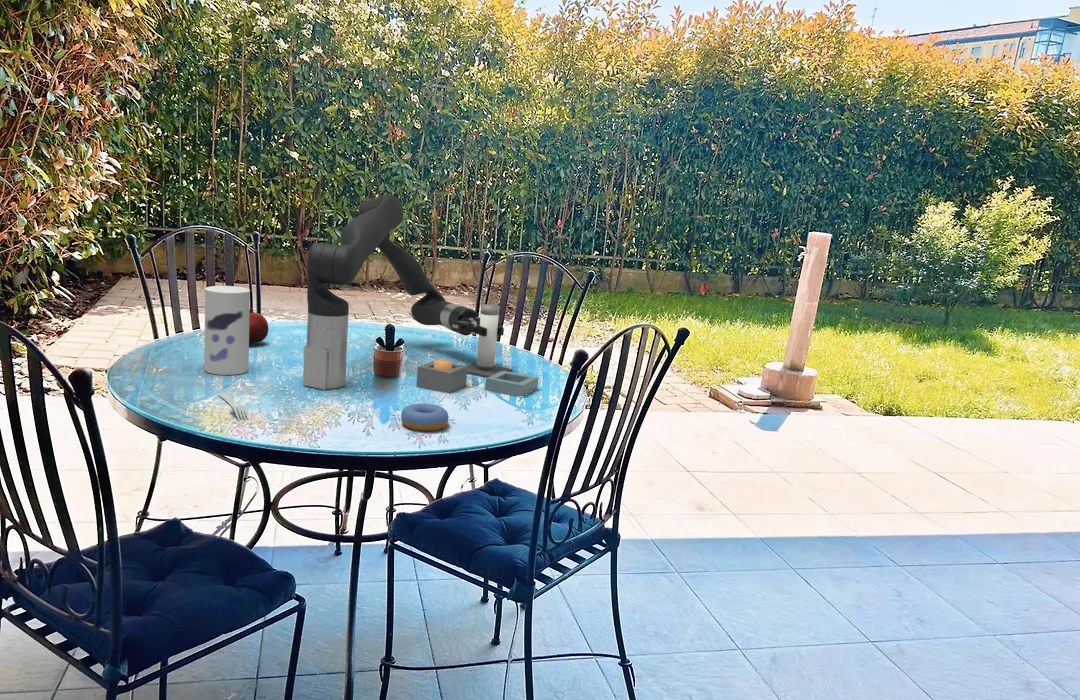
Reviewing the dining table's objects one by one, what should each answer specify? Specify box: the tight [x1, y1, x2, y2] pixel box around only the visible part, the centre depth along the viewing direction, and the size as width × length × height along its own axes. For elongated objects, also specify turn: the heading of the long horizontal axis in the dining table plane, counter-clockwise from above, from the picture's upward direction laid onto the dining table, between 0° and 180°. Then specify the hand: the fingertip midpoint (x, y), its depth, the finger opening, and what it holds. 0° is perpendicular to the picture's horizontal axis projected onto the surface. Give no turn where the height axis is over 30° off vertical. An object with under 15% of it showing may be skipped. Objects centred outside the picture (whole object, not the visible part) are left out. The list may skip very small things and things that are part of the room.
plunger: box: [433, 359, 453, 371], centre depth 206 cm, size 4×4×6 cm
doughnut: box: [400, 403, 449, 432], centre depth 175 cm, size 10×10×5 cm
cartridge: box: [476, 303, 501, 367], centre depth 223 cm, size 5×5×16 cm
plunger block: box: [415, 360, 468, 394], centre depth 206 cm, size 9×9×5 cm
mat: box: [466, 361, 513, 378], centre depth 225 cm, size 11×11×1 cm
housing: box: [484, 371, 539, 397], centre depth 209 cm, size 10×10×3 cm
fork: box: [217, 393, 250, 423], centre depth 175 cm, size 3×21×3 cm, turn 32°
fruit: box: [249, 308, 269, 345], centre depth 229 cm, size 11×10×10 cm
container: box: [203, 285, 251, 376], centre depth 200 cm, size 10×10×20 cm
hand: (494, 332), depth 221 cm, fingers closed on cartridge, 4 cm apart
